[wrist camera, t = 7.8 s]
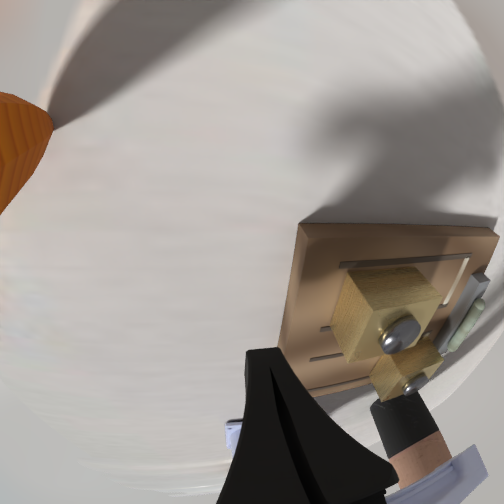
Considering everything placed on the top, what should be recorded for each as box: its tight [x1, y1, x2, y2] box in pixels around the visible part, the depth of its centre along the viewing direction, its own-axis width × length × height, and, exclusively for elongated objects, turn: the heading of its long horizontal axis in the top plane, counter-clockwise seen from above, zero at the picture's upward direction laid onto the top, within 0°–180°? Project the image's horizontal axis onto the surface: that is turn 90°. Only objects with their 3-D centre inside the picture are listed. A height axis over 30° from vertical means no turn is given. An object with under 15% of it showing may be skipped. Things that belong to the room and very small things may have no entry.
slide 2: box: [369, 336, 444, 402], centre depth 19 cm, size 4×5×4 cm
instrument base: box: [277, 223, 500, 397], centre depth 18 cm, size 16×18×4 cm
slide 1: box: [330, 266, 443, 363], centre depth 14 cm, size 4×5×4 cm
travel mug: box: [370, 391, 452, 489], centre depth 22 cm, size 8×8×20 cm
